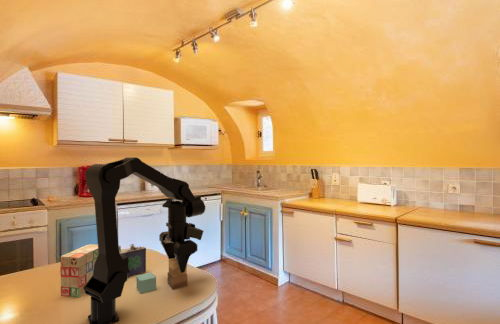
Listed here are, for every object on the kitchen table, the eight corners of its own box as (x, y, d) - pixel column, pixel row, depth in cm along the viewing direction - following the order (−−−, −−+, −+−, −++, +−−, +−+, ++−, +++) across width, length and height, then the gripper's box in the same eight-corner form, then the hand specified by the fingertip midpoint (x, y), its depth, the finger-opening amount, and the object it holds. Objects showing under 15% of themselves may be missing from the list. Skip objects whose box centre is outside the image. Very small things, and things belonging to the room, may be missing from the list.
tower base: (156, 290, 93) (156, 277, 93) (140, 294, 90) (140, 280, 90) (151, 284, 97) (151, 272, 97) (136, 288, 94) (136, 275, 94)
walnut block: (187, 286, 95) (187, 274, 95) (172, 290, 93) (172, 277, 93) (181, 281, 99) (181, 269, 99) (167, 284, 97) (167, 272, 97)
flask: (120, 279, 100) (120, 248, 100) (117, 277, 102) (117, 246, 102) (147, 272, 106) (147, 242, 106) (143, 270, 109) (143, 241, 108)
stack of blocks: (106, 269, 109) (105, 236, 109) (121, 270, 108) (121, 237, 108) (60, 296, 88) (59, 255, 88) (79, 298, 87) (78, 256, 87)
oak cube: (173, 277, 93) (173, 263, 93) (168, 272, 96) (168, 259, 96) (186, 273, 95) (186, 260, 95) (181, 269, 99) (181, 256, 99)
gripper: (212, 222, 92) (212, 271, 93) (189, 212, 108) (189, 255, 108) (178, 226, 86) (178, 280, 86) (158, 216, 101) (159, 261, 102)
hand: (177, 267), depth 96 cm, fingers open, 9 cm apart
